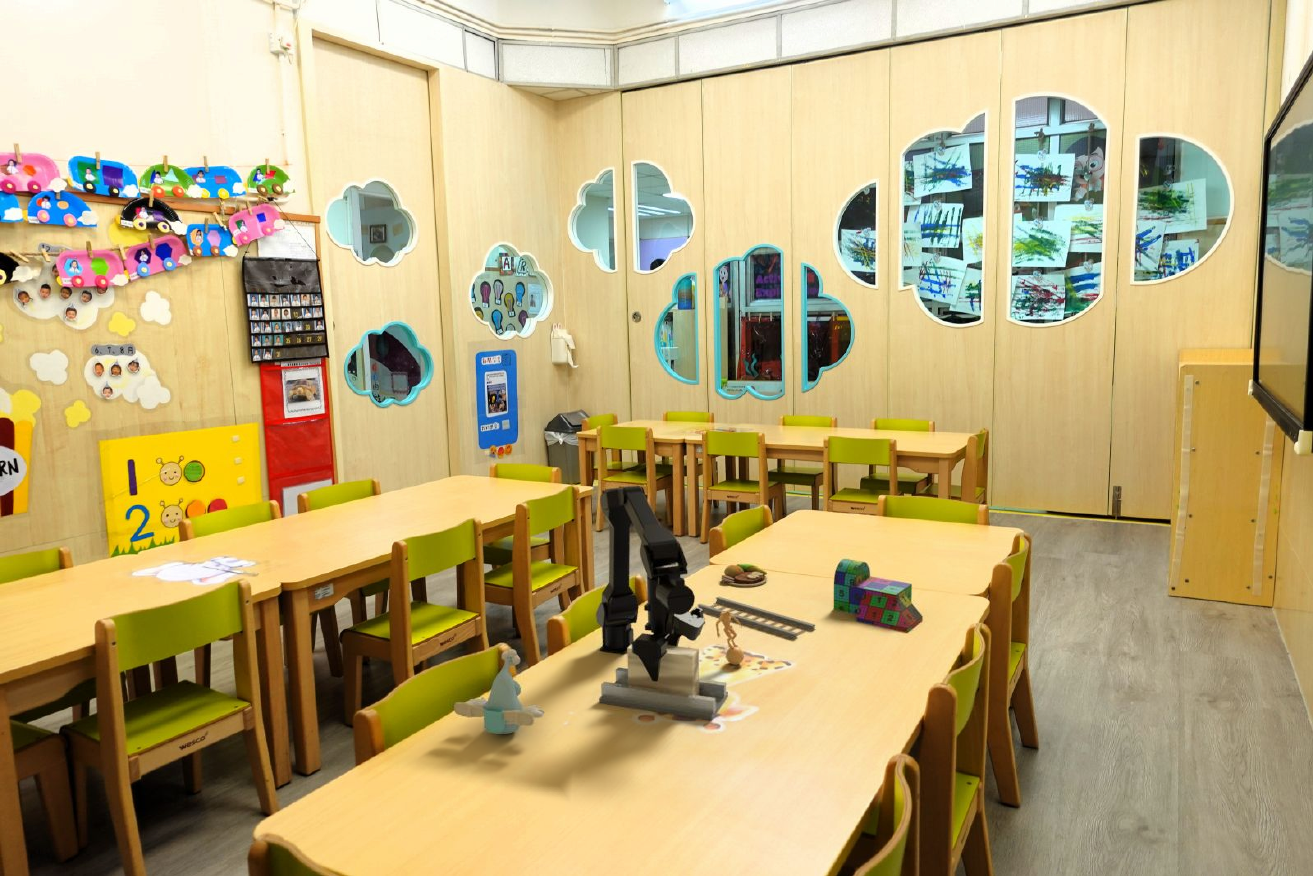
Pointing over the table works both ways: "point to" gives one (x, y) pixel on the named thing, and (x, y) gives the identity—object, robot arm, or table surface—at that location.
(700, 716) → the floor track
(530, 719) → the toy figure
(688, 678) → the door panel
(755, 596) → the table surface
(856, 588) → the toy train engine
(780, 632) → the model train track
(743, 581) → the toy food set
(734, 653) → the figurine
